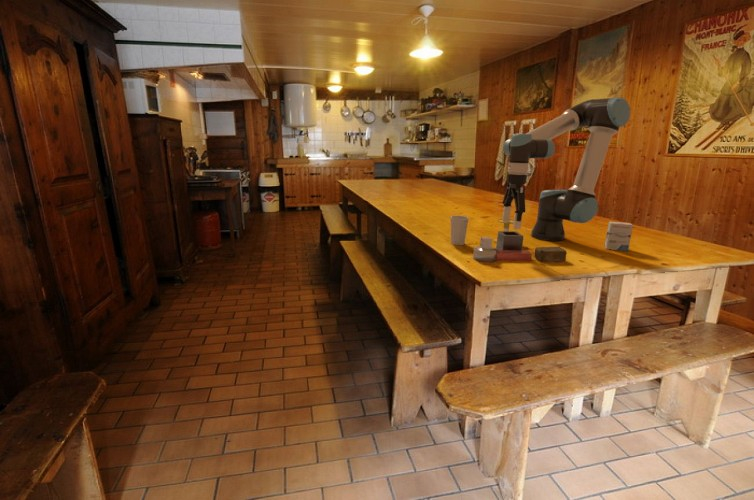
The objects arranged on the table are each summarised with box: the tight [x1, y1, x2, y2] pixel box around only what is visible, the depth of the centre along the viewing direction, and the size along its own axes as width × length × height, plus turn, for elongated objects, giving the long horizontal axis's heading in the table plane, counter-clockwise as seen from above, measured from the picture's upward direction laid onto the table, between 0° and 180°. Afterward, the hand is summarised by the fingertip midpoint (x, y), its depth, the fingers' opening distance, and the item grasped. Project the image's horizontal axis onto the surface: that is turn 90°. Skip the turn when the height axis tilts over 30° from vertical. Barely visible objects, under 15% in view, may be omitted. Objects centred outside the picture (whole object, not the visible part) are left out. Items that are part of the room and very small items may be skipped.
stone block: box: [533, 246, 568, 263], centre depth 159 cm, size 6×12×5 cm, turn 97°
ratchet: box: [472, 236, 533, 263], centre depth 159 cm, size 22×9×8 cm, turn 91°
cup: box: [450, 215, 470, 246], centre depth 180 cm, size 8×8×12 cm
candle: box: [493, 205, 514, 243], centre depth 182 cm, size 10×10×27 cm
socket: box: [496, 230, 524, 250], centre depth 169 cm, size 8×8×8 cm
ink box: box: [604, 221, 634, 252], centre depth 175 cm, size 8×5×12 cm, turn 71°
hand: (511, 225), depth 166 cm, fingers open, 13 cm apart
